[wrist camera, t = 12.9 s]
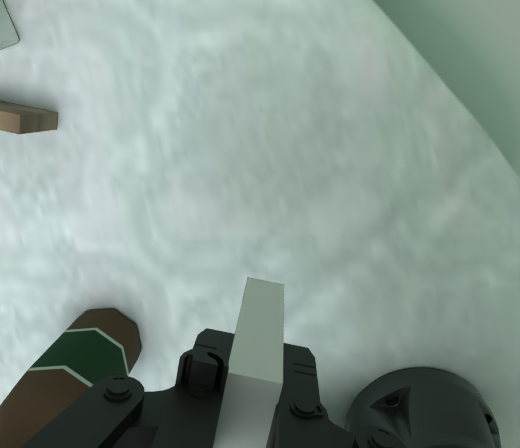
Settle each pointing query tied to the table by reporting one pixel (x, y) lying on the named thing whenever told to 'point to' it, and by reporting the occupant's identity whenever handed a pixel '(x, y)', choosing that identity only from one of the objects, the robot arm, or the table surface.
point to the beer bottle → (68, 372)
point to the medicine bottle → (6, 28)
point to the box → (26, 119)
